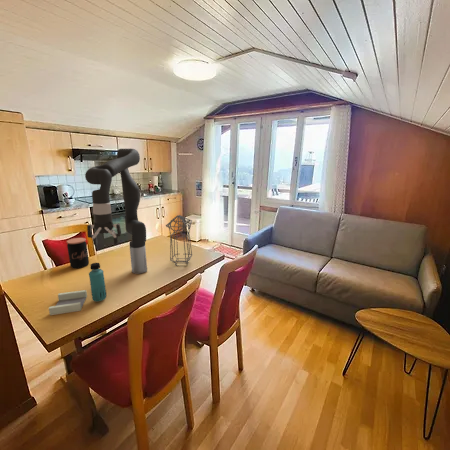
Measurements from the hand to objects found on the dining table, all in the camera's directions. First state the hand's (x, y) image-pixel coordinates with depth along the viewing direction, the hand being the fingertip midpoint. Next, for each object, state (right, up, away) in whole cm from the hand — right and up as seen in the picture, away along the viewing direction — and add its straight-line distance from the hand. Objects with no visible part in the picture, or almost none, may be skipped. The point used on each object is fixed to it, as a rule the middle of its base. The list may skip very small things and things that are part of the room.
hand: (106, 245), depth 111 cm
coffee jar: (-39, -18, +42) cm, 60 cm away
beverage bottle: (-5, -29, +4) cm, 29 cm away
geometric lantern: (+27, -18, +49) cm, 58 cm away
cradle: (-17, -29, -1) cm, 34 cm away
